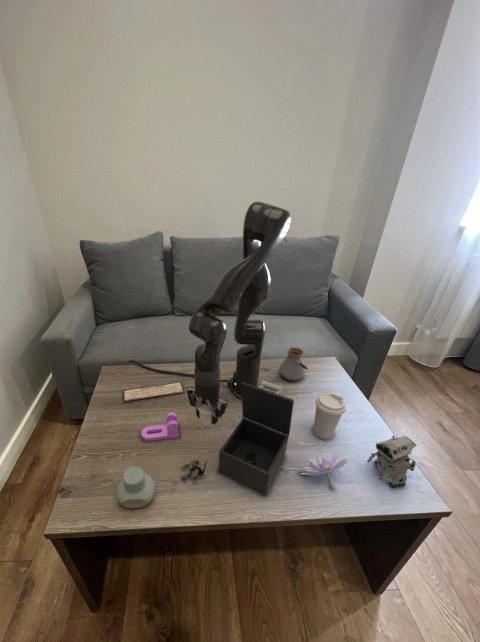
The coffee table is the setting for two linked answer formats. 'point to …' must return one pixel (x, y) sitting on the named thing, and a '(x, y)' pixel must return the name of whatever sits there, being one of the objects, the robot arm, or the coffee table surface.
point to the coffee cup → (328, 414)
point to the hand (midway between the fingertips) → (207, 419)
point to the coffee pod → (205, 414)
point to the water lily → (324, 467)
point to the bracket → (162, 429)
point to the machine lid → (267, 406)
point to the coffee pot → (293, 365)
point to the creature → (194, 469)
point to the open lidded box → (258, 442)
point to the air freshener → (135, 488)
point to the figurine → (394, 459)
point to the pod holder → (250, 458)
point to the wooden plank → (152, 391)
